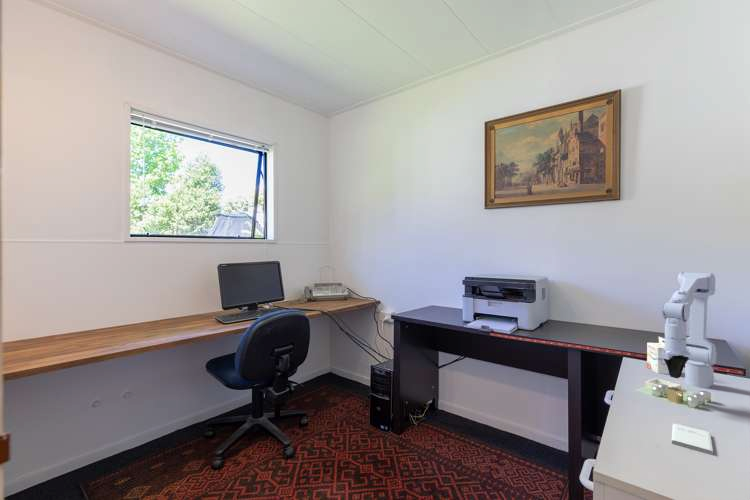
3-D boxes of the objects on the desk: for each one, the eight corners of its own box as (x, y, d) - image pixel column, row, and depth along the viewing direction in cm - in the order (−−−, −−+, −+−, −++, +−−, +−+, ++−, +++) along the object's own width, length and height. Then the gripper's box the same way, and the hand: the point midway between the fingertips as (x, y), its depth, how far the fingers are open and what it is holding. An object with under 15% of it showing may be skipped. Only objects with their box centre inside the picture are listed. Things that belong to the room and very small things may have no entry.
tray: (655, 382, 138) (655, 377, 138) (681, 389, 131) (681, 384, 131) (645, 386, 134) (645, 381, 134) (670, 393, 127) (670, 388, 127)
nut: (669, 397, 124) (669, 385, 124) (685, 402, 120) (685, 390, 120) (663, 399, 122) (663, 387, 122) (680, 404, 118) (680, 392, 118)
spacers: (666, 388, 132) (666, 380, 132) (712, 401, 120) (712, 393, 120) (650, 394, 126) (650, 386, 126) (696, 409, 115) (696, 400, 114)
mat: (657, 384, 138) (657, 382, 138) (718, 401, 122) (718, 399, 122) (633, 392, 130) (633, 390, 130) (695, 412, 114) (695, 409, 114)
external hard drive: (671, 445, 96) (672, 427, 105) (713, 457, 90) (710, 437, 100) (671, 439, 96) (672, 422, 105) (713, 451, 90) (710, 431, 100)
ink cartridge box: (646, 368, 156) (646, 335, 156) (658, 369, 155) (659, 336, 155) (657, 375, 148) (657, 340, 148) (671, 376, 147) (671, 341, 147)
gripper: (679, 342, 114) (679, 384, 114) (699, 337, 121) (699, 377, 121) (654, 338, 120) (654, 377, 120) (674, 333, 127) (674, 370, 127)
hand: (675, 377), depth 121 cm, fingers closed
